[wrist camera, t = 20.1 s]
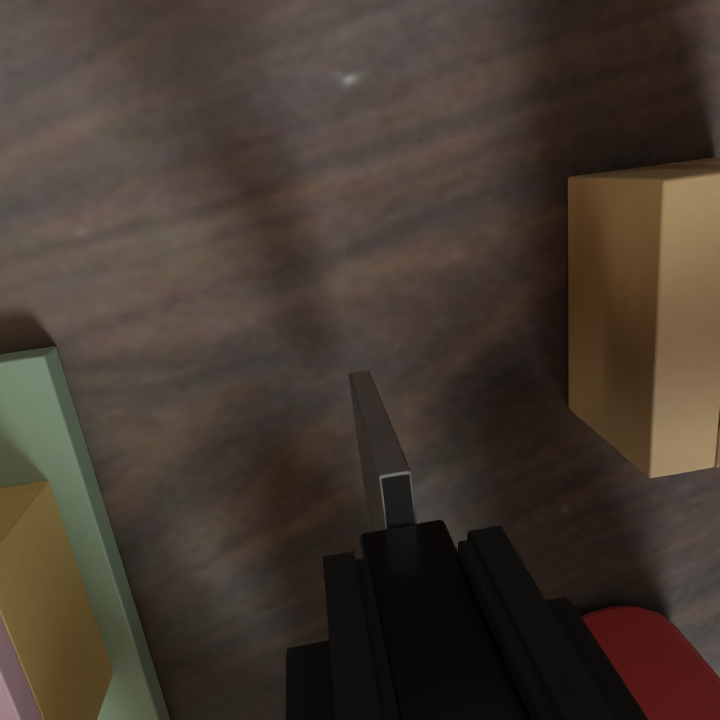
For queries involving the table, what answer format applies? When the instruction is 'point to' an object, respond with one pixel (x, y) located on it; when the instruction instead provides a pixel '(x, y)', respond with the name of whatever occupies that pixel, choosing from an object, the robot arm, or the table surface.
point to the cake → (45, 616)
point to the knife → (423, 590)
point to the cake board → (76, 518)
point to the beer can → (656, 663)
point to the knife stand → (647, 312)
